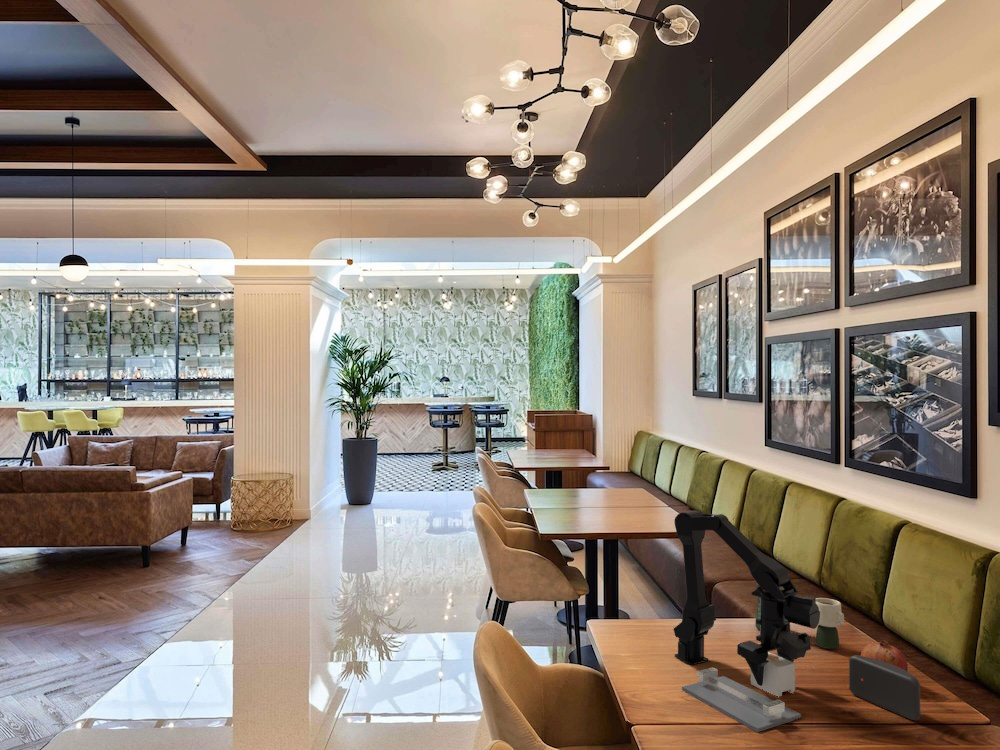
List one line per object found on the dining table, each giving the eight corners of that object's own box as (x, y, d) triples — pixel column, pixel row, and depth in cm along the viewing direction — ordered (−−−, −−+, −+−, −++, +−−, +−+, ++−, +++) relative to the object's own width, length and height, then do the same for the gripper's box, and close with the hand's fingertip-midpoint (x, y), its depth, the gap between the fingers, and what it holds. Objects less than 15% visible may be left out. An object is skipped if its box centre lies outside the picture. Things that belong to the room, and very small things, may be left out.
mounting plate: (723, 679, 161) (723, 675, 161) (800, 717, 142) (800, 714, 142) (682, 690, 155) (682, 686, 155) (757, 732, 135) (757, 728, 135)
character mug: (853, 652, 180) (852, 606, 181) (834, 656, 178) (834, 608, 178) (821, 639, 190) (820, 594, 191) (802, 641, 188) (802, 597, 188)
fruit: (917, 691, 156) (916, 650, 157) (875, 690, 157) (874, 648, 157) (892, 673, 167) (892, 634, 167) (853, 671, 167) (853, 633, 168)
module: (767, 679, 162) (767, 648, 162) (795, 692, 155) (794, 659, 155) (750, 684, 159) (750, 652, 159) (778, 697, 152) (778, 664, 152)
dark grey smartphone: (929, 720, 142) (929, 677, 143) (917, 724, 140) (916, 680, 140) (859, 690, 157) (859, 651, 157) (847, 693, 155) (847, 654, 155)
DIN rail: (712, 680, 159) (712, 666, 159) (785, 717, 140) (785, 702, 141) (697, 683, 157) (697, 670, 157) (769, 722, 138) (769, 707, 138)
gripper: (774, 633, 146) (774, 703, 145) (827, 621, 155) (827, 687, 154) (735, 618, 156) (735, 684, 155) (786, 608, 165) (786, 669, 164)
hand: (772, 681), depth 157 cm, fingers open, 9 cm apart
